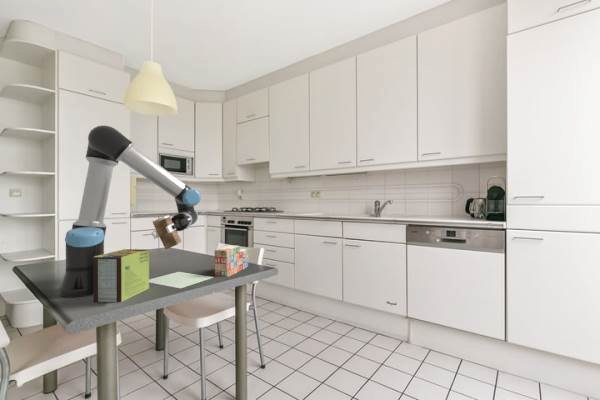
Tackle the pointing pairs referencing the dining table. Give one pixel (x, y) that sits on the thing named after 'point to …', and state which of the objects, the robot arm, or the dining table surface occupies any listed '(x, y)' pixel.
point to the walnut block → (166, 232)
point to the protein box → (120, 275)
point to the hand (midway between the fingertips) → (160, 232)
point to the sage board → (179, 279)
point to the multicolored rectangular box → (230, 260)
